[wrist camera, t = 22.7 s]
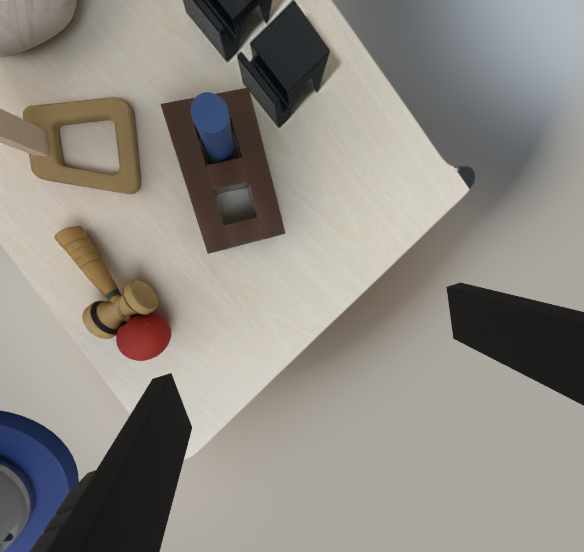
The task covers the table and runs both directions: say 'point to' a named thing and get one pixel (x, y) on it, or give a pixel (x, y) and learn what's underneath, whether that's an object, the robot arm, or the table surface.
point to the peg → (213, 126)
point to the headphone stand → (47, 148)
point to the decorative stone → (31, 22)
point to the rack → (226, 173)
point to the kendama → (118, 303)
